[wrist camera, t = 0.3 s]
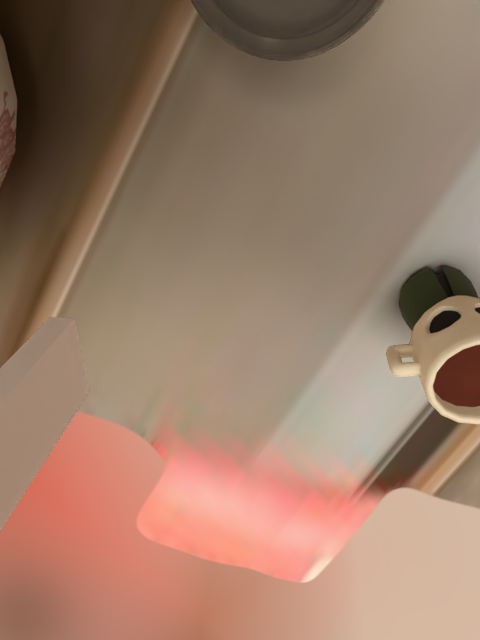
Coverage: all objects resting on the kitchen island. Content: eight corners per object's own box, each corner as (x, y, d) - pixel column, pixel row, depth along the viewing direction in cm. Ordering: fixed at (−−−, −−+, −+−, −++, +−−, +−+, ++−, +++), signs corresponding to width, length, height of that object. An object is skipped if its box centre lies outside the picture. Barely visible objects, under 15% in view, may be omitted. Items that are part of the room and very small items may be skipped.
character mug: (502, 250, 38) (585, 329, 27) (495, 323, 42) (567, 420, 30) (369, 266, 40) (394, 345, 29) (372, 334, 44) (396, 429, 33)
